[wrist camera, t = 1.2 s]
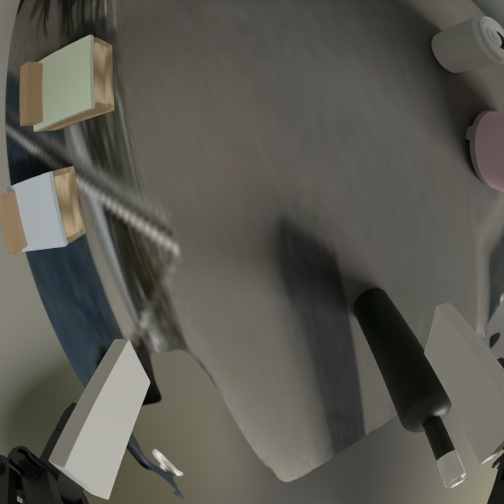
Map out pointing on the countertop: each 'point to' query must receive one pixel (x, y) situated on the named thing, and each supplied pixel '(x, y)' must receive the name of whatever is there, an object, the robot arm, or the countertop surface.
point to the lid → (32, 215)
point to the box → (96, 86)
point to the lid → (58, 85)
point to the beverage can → (470, 45)
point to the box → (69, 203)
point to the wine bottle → (409, 379)
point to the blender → (488, 147)
